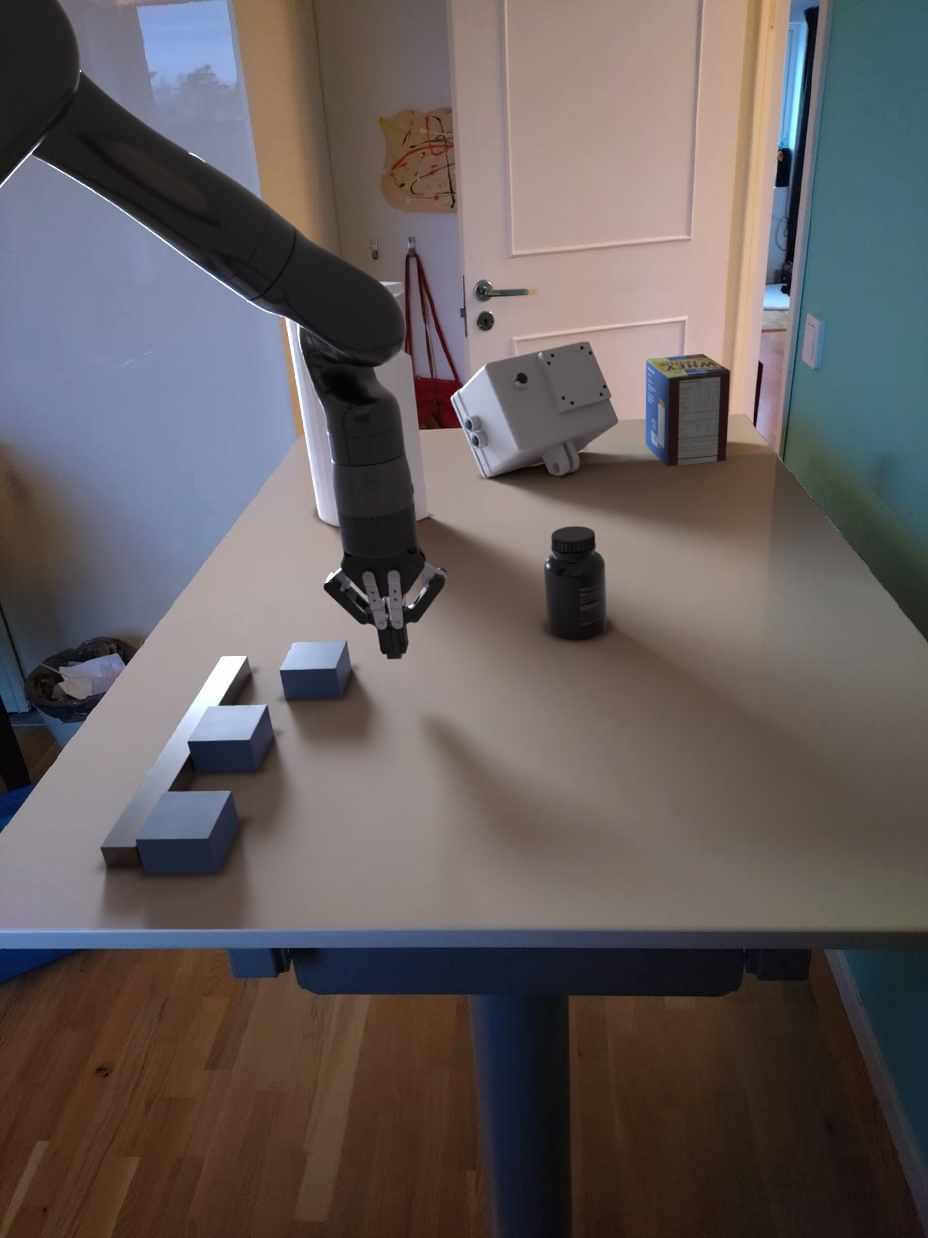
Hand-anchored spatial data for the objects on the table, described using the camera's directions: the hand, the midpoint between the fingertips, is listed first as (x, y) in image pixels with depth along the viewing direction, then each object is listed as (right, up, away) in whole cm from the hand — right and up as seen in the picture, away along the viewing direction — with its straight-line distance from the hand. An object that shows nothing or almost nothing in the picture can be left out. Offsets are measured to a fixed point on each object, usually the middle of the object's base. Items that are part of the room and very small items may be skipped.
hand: (396, 655), depth 94 cm
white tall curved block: (-9, +20, +49) cm, 54 cm away
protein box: (+46, +33, +65) cm, 86 cm away
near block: (-15, -16, -20) cm, 29 cm away
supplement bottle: (+20, +2, +9) cm, 22 cm away
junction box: (+20, +31, +65) cm, 74 cm away
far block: (-8, -4, +3) cm, 10 cm away
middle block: (-15, -9, -8) cm, 19 cm away
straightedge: (-19, -10, -7) cm, 23 cm away
